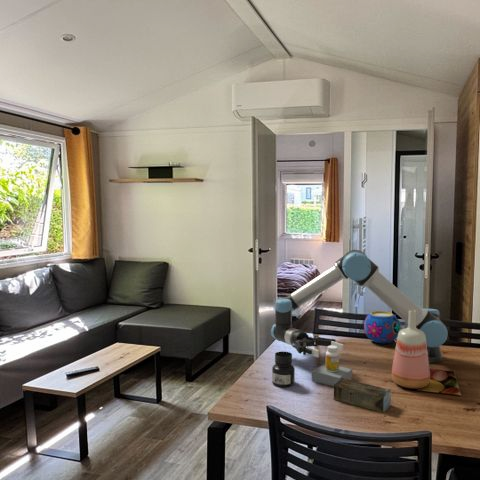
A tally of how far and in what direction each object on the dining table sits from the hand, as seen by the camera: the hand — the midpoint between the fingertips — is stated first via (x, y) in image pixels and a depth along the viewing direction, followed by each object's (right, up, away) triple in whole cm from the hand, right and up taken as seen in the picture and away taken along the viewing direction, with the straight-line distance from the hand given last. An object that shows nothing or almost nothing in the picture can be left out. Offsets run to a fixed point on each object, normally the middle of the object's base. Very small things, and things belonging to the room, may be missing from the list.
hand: (330, 351), depth 192 cm
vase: (+31, -12, -5) cm, 33 cm away
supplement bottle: (+1, -8, 0) cm, 8 cm away
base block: (+1, -12, +1) cm, 12 cm away
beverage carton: (+7, -14, -21) cm, 26 cm away
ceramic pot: (+36, -8, +51) cm, 63 cm away
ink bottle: (-20, -12, -3) cm, 23 cm away
